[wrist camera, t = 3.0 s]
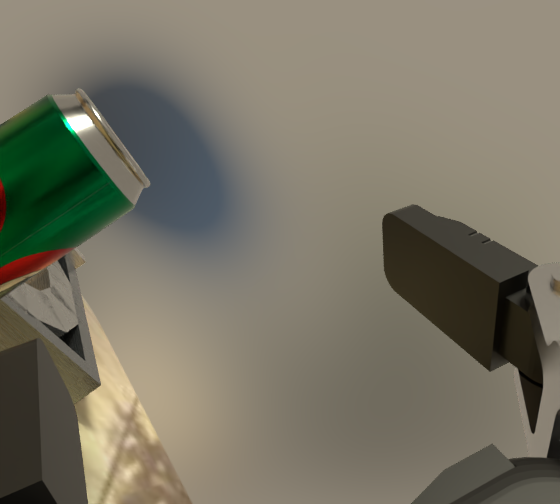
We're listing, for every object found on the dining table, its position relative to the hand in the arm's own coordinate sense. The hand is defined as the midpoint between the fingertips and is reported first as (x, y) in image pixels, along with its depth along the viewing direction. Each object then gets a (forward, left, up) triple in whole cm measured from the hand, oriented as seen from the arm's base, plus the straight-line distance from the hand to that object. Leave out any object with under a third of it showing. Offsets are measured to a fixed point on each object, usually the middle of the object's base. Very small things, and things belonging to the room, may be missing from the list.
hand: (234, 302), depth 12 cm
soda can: (-1, +11, -12) cm, 17 cm away
